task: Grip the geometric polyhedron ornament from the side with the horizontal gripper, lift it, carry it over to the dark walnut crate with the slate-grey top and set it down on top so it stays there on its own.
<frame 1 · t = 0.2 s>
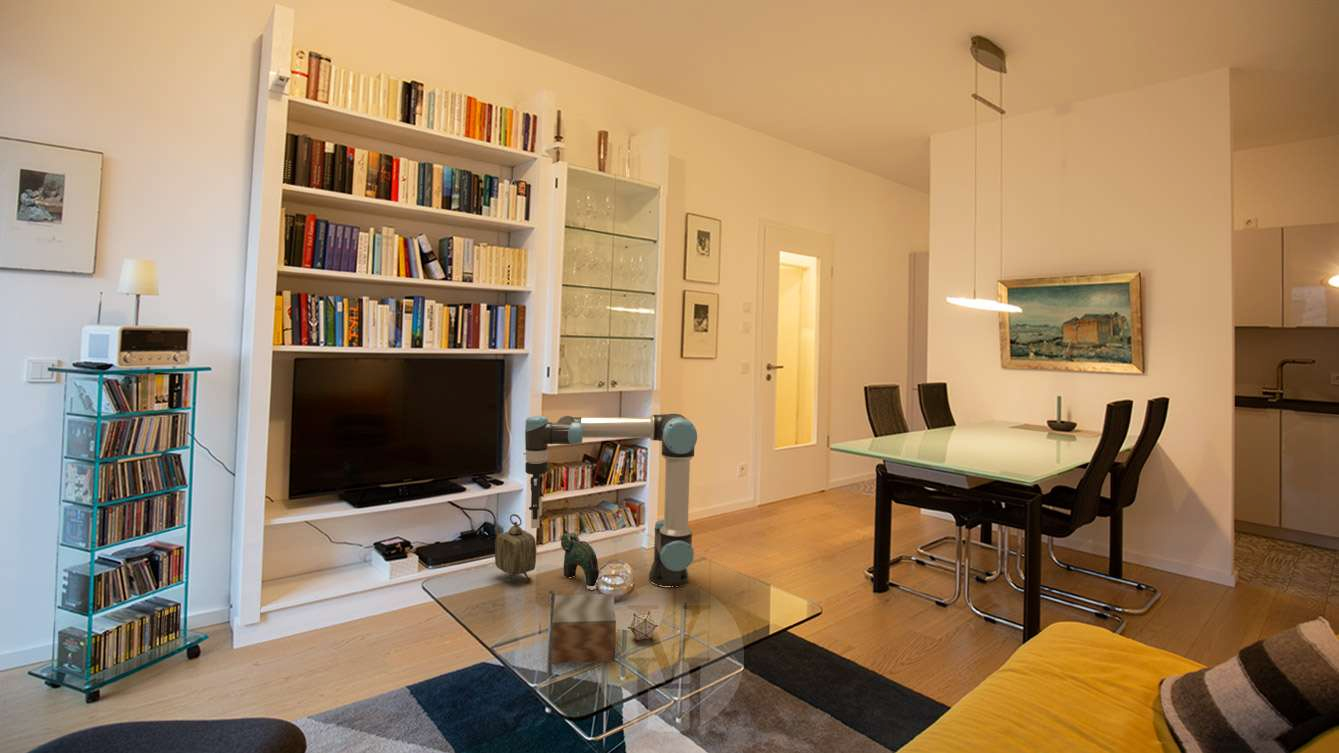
hand: (536, 521, 222), 28 cm above the table, tool pointing down, fingers open, 13 cm apart
geometric polyhedron ornament: (642, 639, 198), on the table
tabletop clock: (514, 580, 240), on the table
green elephant figurine: (580, 582, 240), on the table
walnut crate: (583, 646, 192), on the table
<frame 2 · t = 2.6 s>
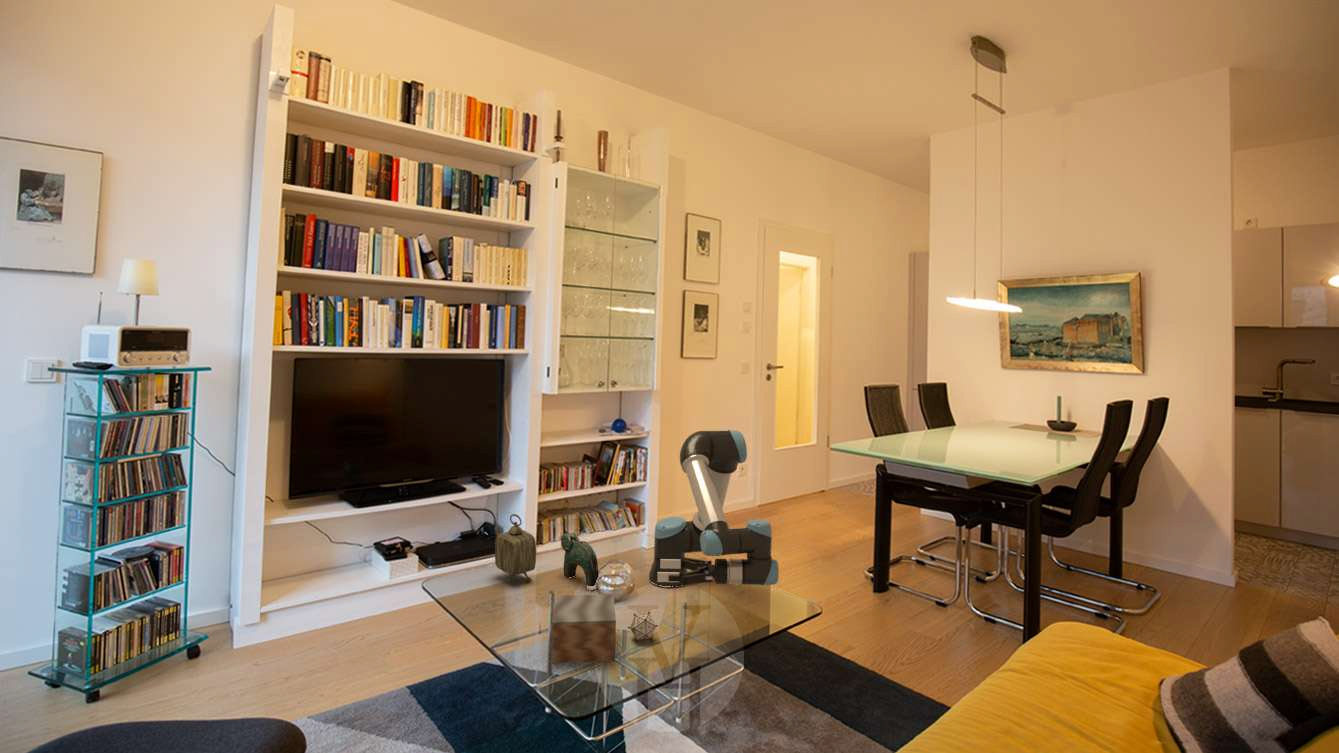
hand: (658, 570, 199), 21 cm above the table, tool horizontal, fingers open, 13 cm apart
nothing on the table moved.
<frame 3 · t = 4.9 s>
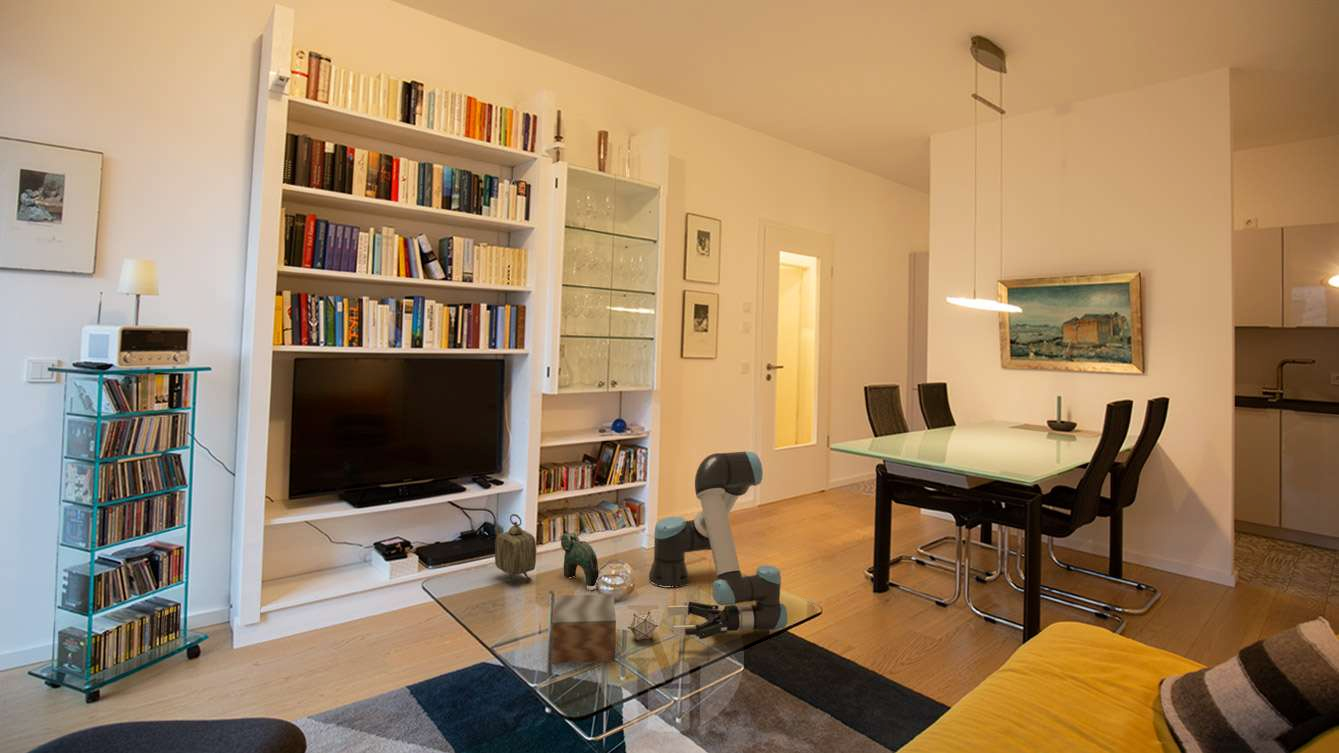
hand: (670, 620, 198), 6 cm above the table, tool horizontal, fingers open, 13 cm apart
nothing on the table moved.
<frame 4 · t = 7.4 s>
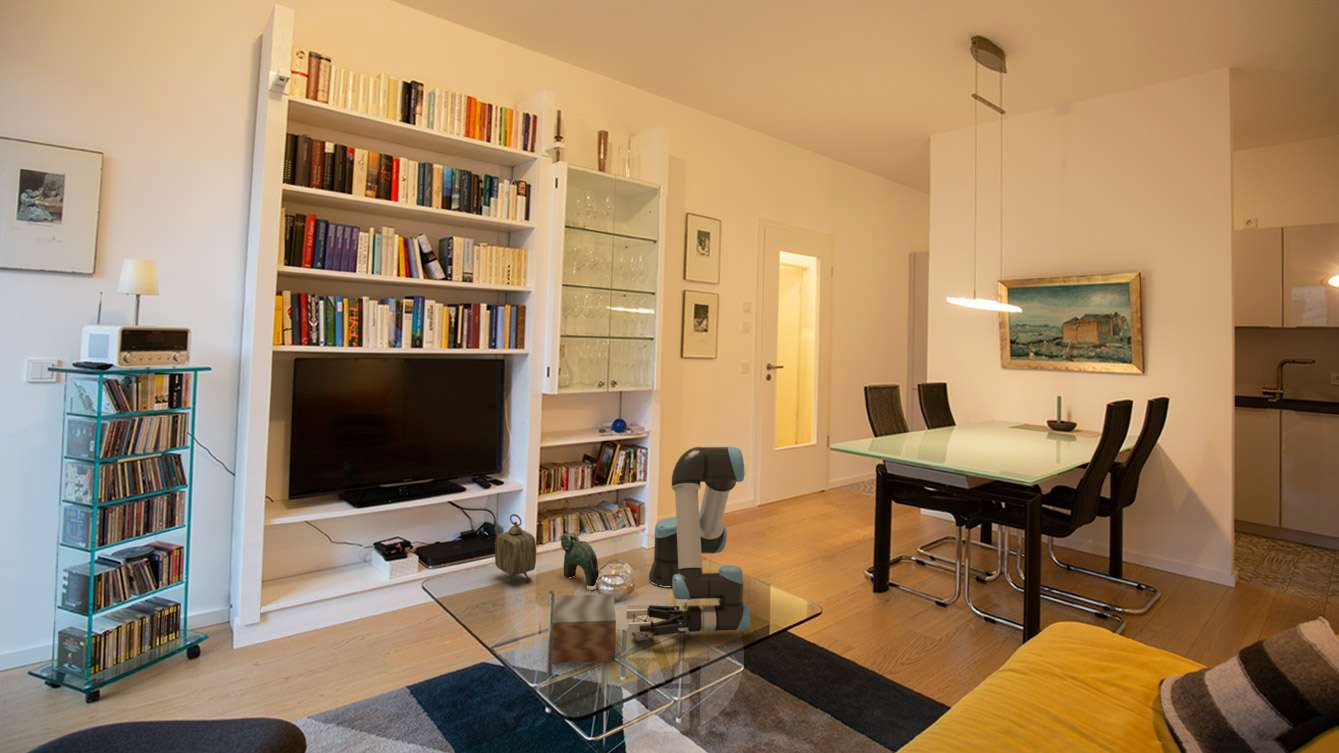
hand: (627, 620, 197), 6 cm above the table, tool horizontal, fingers closed on geometric polyhedron ornament, 8 cm apart
geometric polyhedron ornament: (642, 640, 197), on the table, touching gripper
everything else where it was.
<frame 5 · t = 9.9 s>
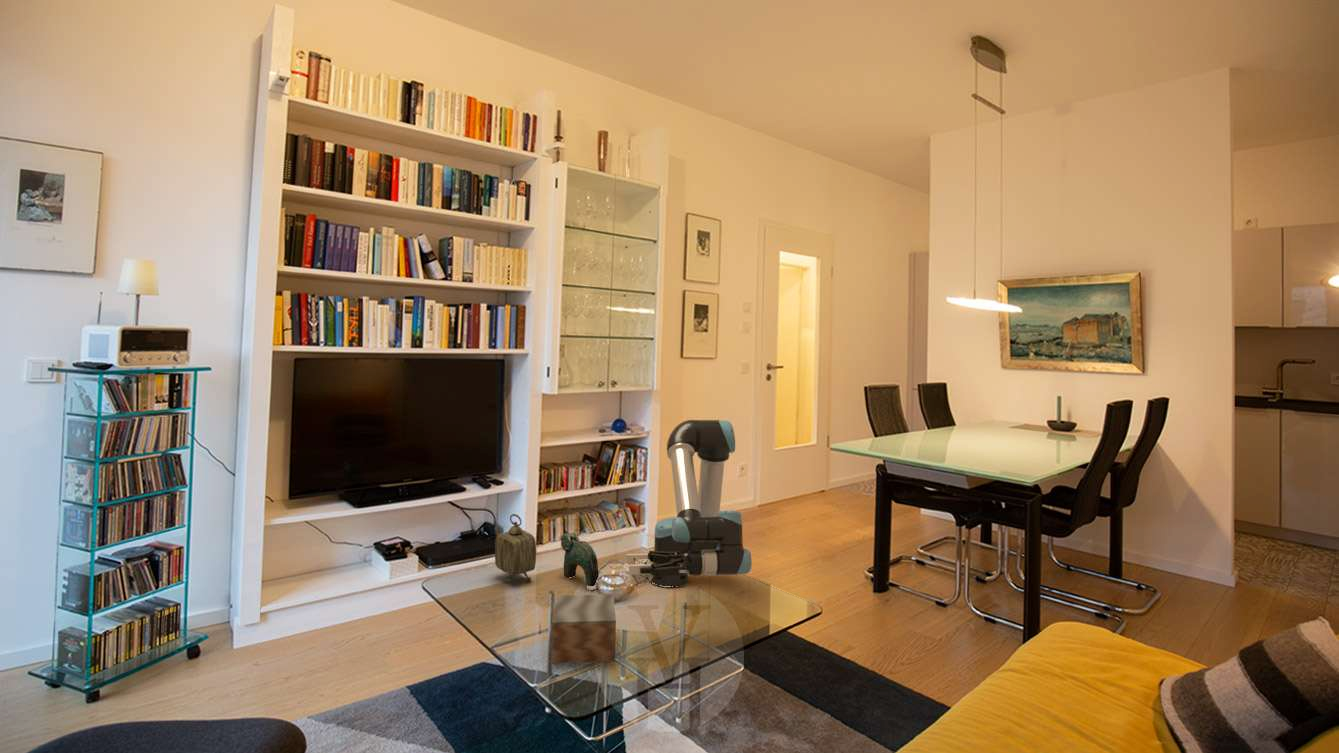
hand: (627, 564, 195), 24 cm above the table, tool horizontal, fingers closed on geometric polyhedron ornament, 8 cm apart
geometric polyhedron ornament: (642, 584, 195), point 18 cm above the table, touching gripper
everything else where it was.
when the fingers open (19 cm above the table, at t = 12.5 s): geometric polyhedron ornament drops 1 cm, resting on walnut crate.
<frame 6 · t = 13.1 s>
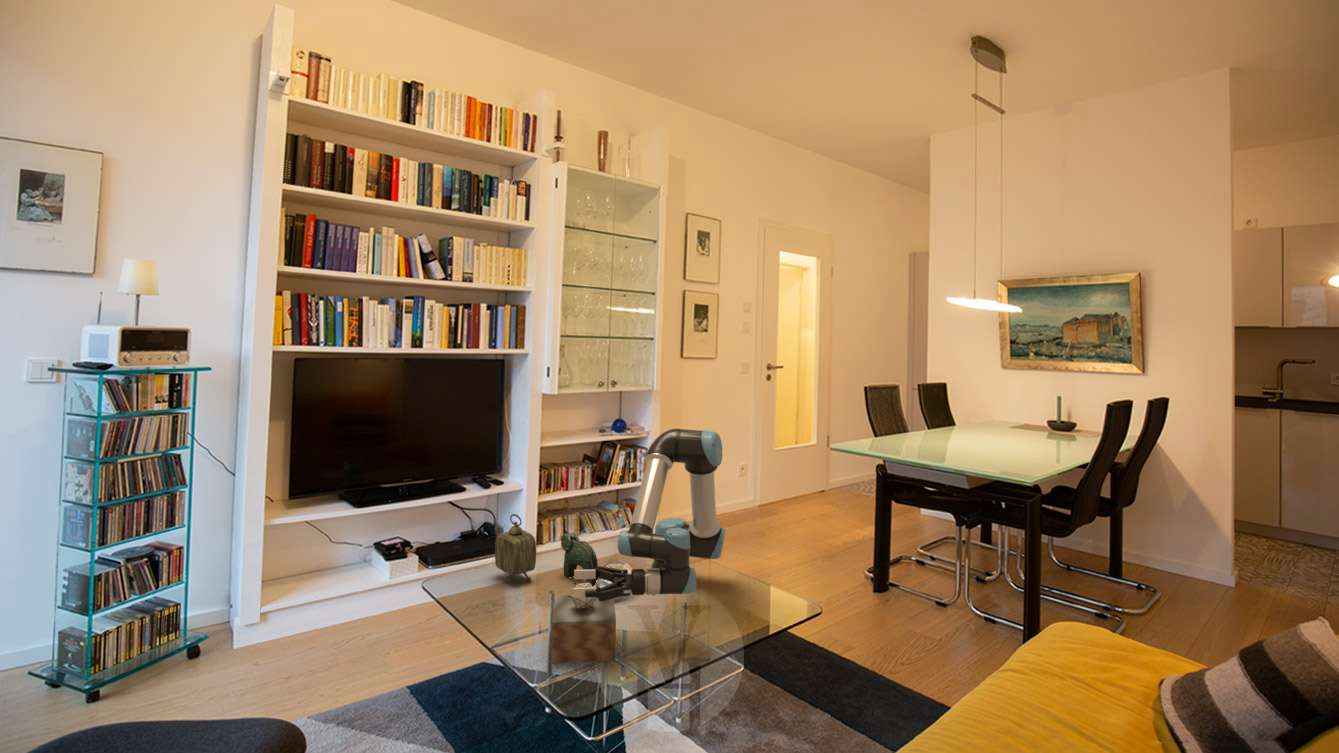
hand: (573, 583, 190), 19 cm above the table, tool horizontal, fingers open, 13 cm apart
geometric polyhedron ornament: (583, 609, 191), point 12 cm above the table, touching walnut crate
everything else where it was.
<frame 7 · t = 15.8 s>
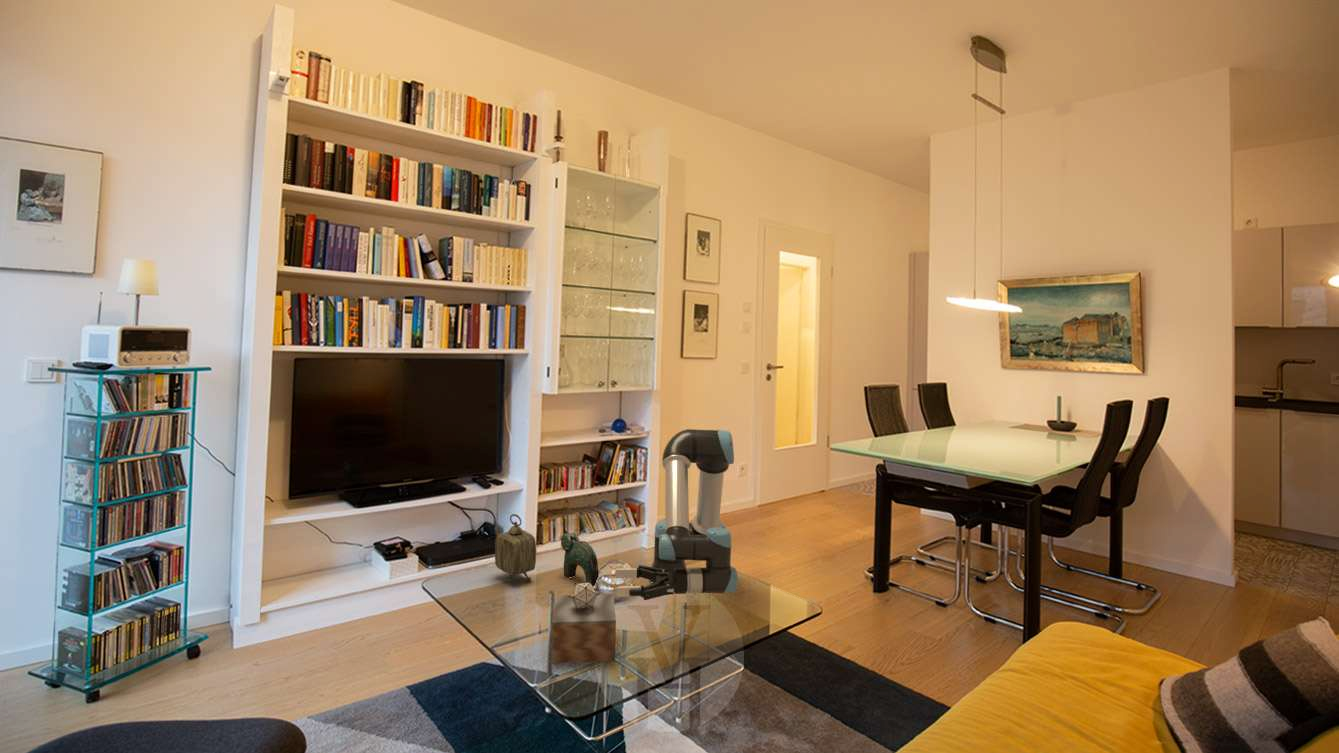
hand: (616, 582, 192), 20 cm above the table, tool horizontal, fingers open, 13 cm apart
nothing on the table moved.
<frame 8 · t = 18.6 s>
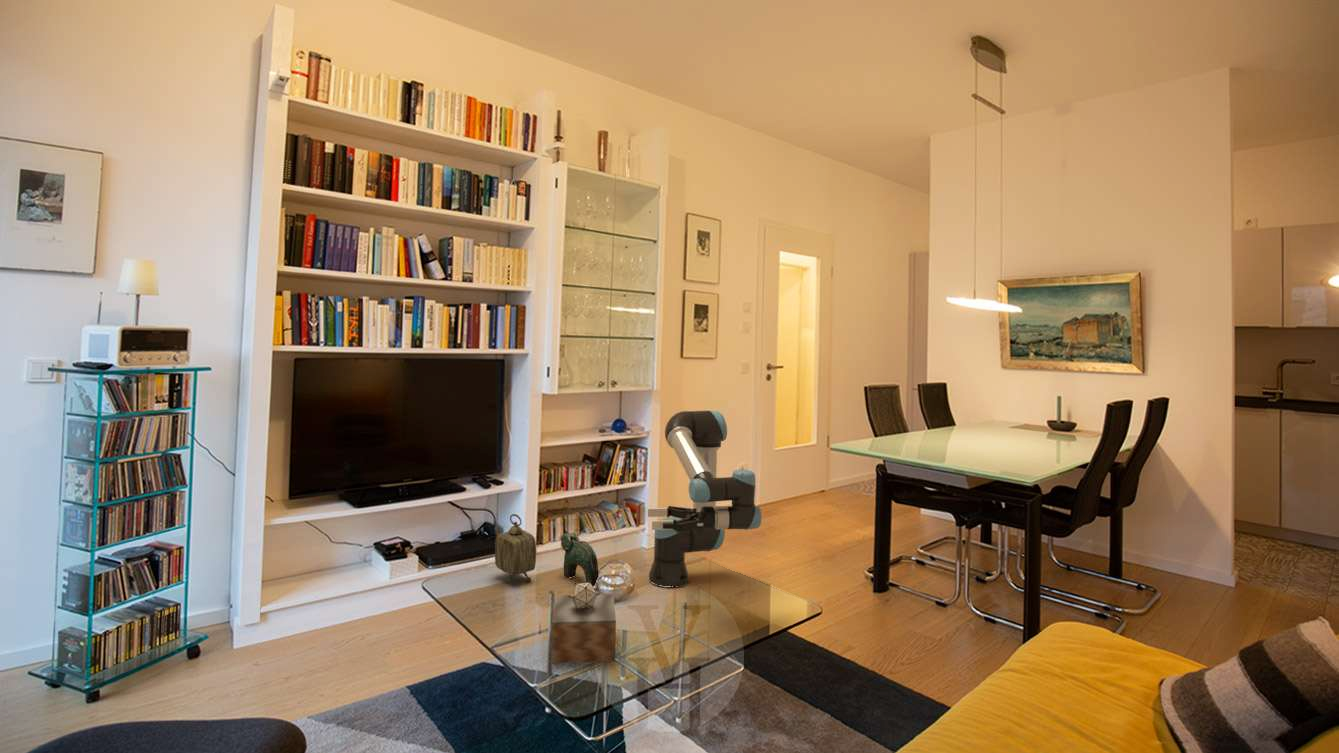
hand: (649, 518, 208), 34 cm above the table, tool horizontal, fingers open, 13 cm apart
nothing on the table moved.
at the end: geometric polyhedron ornament inside the target area on the walnut crate (0.7 cm from its centre), point 11.8 cm above the walnut crate's base; geometric polyhedron ornament tilted 1°; geometric polyhedron ornament touching walnut crate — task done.
